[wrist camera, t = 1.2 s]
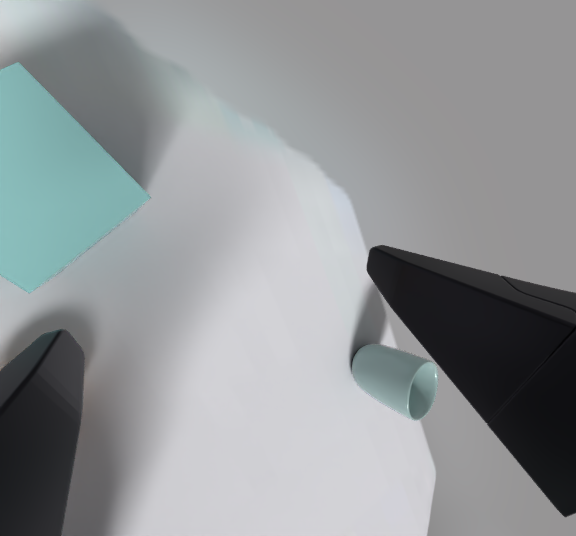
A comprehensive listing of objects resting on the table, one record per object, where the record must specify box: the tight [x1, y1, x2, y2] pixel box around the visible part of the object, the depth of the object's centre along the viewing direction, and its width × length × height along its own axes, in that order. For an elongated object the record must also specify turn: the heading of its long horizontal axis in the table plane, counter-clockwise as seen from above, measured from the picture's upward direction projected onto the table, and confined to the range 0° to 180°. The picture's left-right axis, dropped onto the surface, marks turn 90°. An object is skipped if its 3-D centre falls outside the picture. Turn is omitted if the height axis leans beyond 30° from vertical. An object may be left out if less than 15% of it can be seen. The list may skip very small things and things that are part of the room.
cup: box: [352, 344, 438, 421], centre depth 37 cm, size 8×8×10 cm
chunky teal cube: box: [0, 62, 151, 293], centre depth 15 cm, size 8×8×8 cm
